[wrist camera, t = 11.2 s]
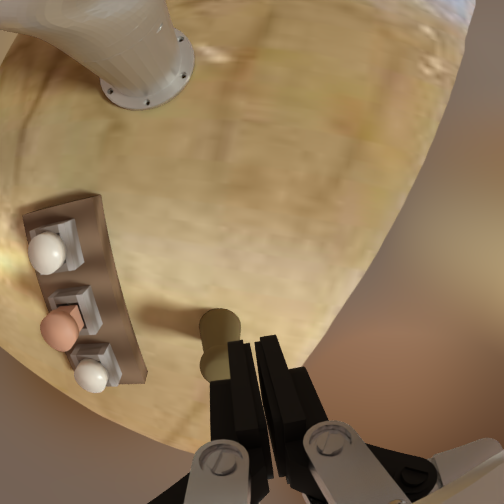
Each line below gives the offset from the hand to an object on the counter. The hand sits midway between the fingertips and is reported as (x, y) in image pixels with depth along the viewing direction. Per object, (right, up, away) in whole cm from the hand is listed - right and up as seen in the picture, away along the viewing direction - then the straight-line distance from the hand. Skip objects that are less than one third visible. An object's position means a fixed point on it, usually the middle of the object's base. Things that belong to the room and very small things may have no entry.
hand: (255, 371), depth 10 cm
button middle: (-24, -4, +23) cm, 33 cm away
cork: (-5, -7, +32) cm, 33 cm away
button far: (-23, -12, +28) cm, 38 cm away
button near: (-25, +5, +23) cm, 34 cm away
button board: (-24, -3, +28) cm, 37 cm away
